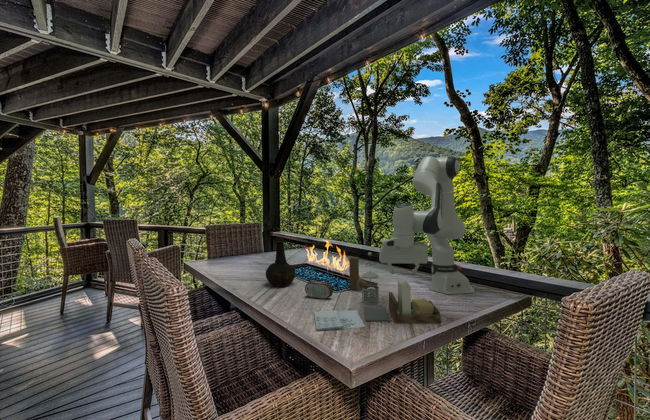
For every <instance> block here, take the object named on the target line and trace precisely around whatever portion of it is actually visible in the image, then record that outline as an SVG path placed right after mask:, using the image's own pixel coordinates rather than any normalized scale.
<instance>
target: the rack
mask: <svg viewBox="0 0 650 420" xmlns="http://www.w3.org/2000/svg"><path fill="white" fill-rule="evenodd" d="M428 301H429V302H430V303H431V304H432V305H434V313H433V315H432V314H414V313H411V314H399V313H398V300H397V299H396V297H395V295H394V293H393V291H391V292H390V291H388V311H389V313H390V315H391V318H392V320H393V323H394V324H442V315H441V312H440V309H438V308H437V307H436V305H435V304H434V303H433V302H432V300H428ZM411 311H413V306H412V301H411Z"/></svg>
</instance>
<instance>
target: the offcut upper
mask: <svg viewBox="0 0 650 420" xmlns="http://www.w3.org/2000/svg"><path fill="white" fill-rule="evenodd" d="M429 301H430V300H428V299H426V298H411V302H412V306H413V307H414V308H415V309H416V310H417V311H418V312H419V313H434V306H435V304H434V305H432V304H431V303H430V302H429Z"/></svg>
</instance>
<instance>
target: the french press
mask: <svg viewBox="0 0 650 420" xmlns="http://www.w3.org/2000/svg"><path fill="white" fill-rule="evenodd" d="M367 255H368V256H372V252H370V251H369V252H367ZM379 277H380V276H379V274H377V273H376V272H372V271H366V272H365V273H363V274H362V275H361V277H360V279H362V281H363V280H364V281H365V279H369V281H367V282H365V283H363V285H364V288H363V287H362V290H361V289H360V290H361V291H360V293H361V294H362V297H361V298H362V299H361V302H360V303H359V304H360V306H362V307H363V308H380V307H381V306H382V303H381V302H380V299H379V298H380V297H379V295H380V294H379V286H378V285H379V283H378V282H373V281H371V280H372V279H378V278H379ZM358 281H360V280H358ZM358 281H357V283H358V285H359V282H358ZM357 288H358V286H357ZM359 288H360V287H359ZM358 290H359V289H358Z"/></svg>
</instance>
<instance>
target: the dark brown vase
mask: <svg viewBox="0 0 650 420" xmlns="http://www.w3.org/2000/svg"><path fill="white" fill-rule="evenodd" d="M274 242H275V243H276V244H275V245H276V247H275V248H276V249H275V250H276V251H275V260H274V261H275V262H272V263H271V264H270V265H269V266H268V267H267V268H266V270H265V278H266V280H267V282H268V283H270V284H271V285H272V286H275V287H284V286H288V285H290V284H291V283H292V282H293V281H294V280H295V277H296V270H295V268H294V266H293V265H292V264H290V263H288V262H287V258H286V253H285V243H286V241H285V240H284V237H276V238H275V241H274Z"/></svg>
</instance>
